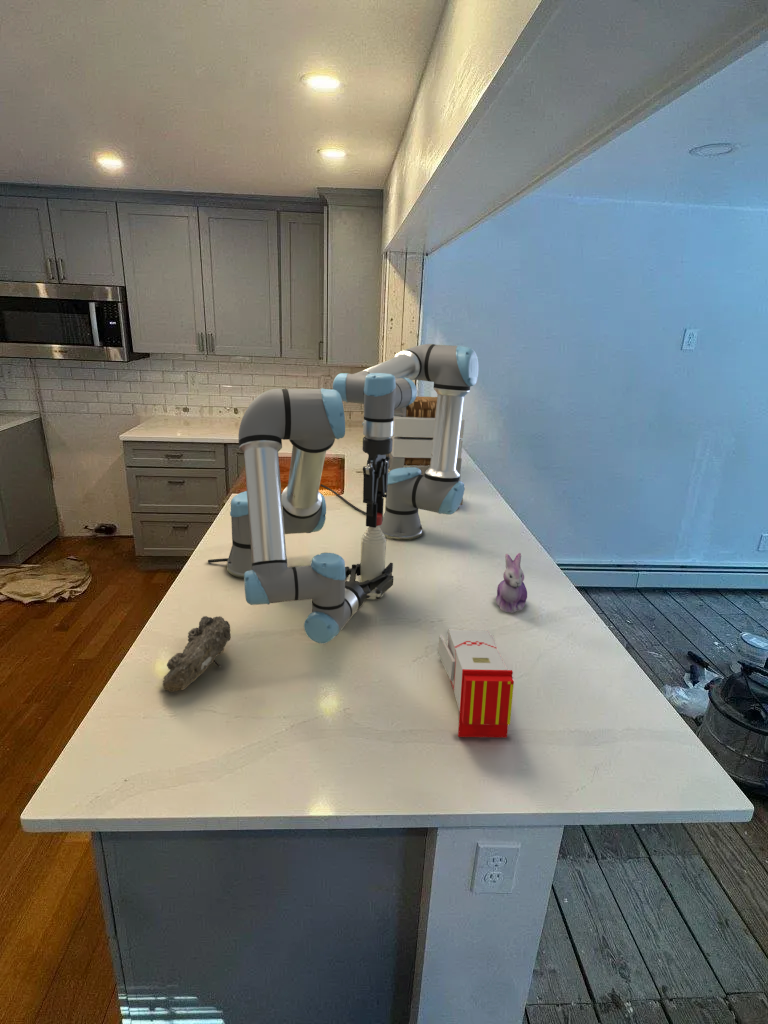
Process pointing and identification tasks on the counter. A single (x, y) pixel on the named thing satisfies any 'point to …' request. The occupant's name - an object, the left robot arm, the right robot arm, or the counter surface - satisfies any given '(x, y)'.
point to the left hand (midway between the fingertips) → (379, 564)
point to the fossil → (197, 653)
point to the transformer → (416, 435)
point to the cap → (379, 519)
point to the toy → (478, 682)
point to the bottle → (372, 554)
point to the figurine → (512, 586)
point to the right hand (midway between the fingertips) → (374, 523)
